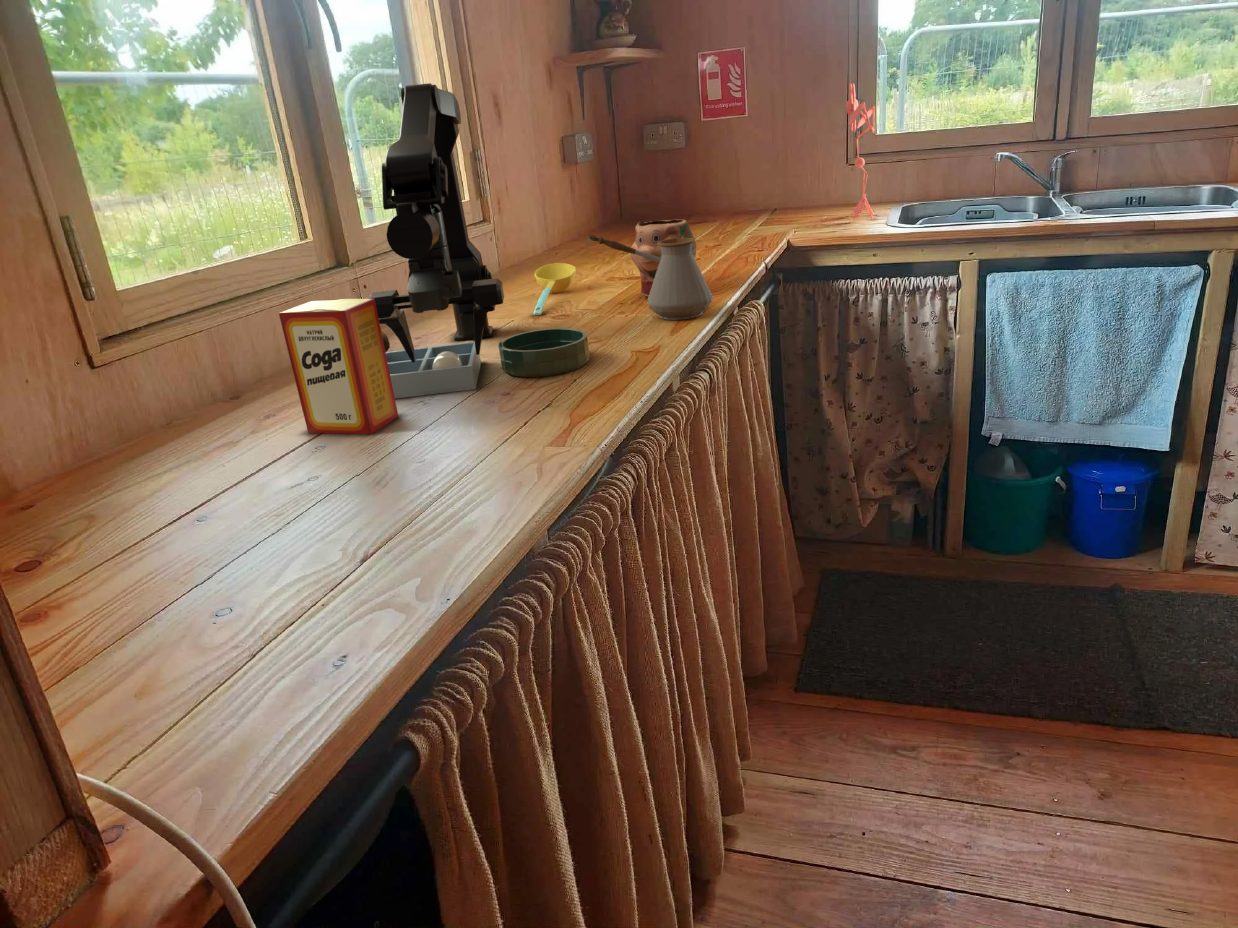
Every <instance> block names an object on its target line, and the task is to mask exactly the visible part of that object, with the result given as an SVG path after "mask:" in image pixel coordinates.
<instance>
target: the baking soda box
mask: <svg viewBox="0 0 1238 928" xmlns="http://www.w3.org/2000/svg"><path fill="white" fill-rule="evenodd" d="M278 317H279V320H280V324H281V328H282V333H283V338H284V341H285V345H286V348H287V353H288V356H289V360H290V365H291V369H292V373H293V377H294V381H295V385H296V390H297V393H298V398H299V401H300V406H301V410H302V414H303V418H304V422H305V426H306V430H307V433H308V434H345V435H347V434H349V435H351V434H352V435H355V434H356V435H372V434H374V433H376V432H377V431H378V430H380V429H381V428H383V427H385V426H386V425H388V424H389V423H391V422H392V421H394V420H395V419H397V418H398V417H399V412H398V407H397V402H396V399H395V397H394V392H393V387H392V382H391V377H390V372H389V367H388V362H387V357H386V352H385V347H384V342H383V338H382V333H381V331H382V328H381V324H380V323H379V318H378V313H377V308H376V303H375V299H368V298H339V299H335V300H334V299H333V300H332V299H331V300H329V299H328V300H310V301H308V302H305V303H302V304H299V305H296V306H294V307H291V308H289V309H286V310H283V311H279V312H278Z"/></svg>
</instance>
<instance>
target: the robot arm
mask: <svg viewBox="0 0 1238 928" xmlns="http://www.w3.org/2000/svg"><path fill="white" fill-rule="evenodd" d="M398 104H399V105H398V106H399V111H400V112H399V113H400V120H401V121H400V130H399V137H398V140H397V141H395V142H394V143H393V144H391V145H390V146H389V147H388V148H387V151H386V154H385V158H384V162H383V163H382V164H381V183H382V184H381V187H382V208H383V210H394V209H395V213H396V215H395V216H394V217H392V219H391V220H390V221H389V223H388V225H387V229H386V240H387V243H388V246H389V247H390V249H391V250H392V251H393V252H394V253H395V254H396V255H398V256H399V257H401V258H404V259H406V260H407V265H408V277H407V294H402V295H401V294H399V292H398V289H391V290H383V291H374V292H372V293H371V294H370V295H369V296H368V297H367V299H375V303H376V308H377V313H378V318H379V323H380V325H385V326H387V327H388V328H389V329H390V330H391V331H392V332H393V333H394V335H395V336H396V337H397V339H398V340H399V342H400V344H401V346H402V347H403V350H405V351H406V352H407V354H408V356H409V358H410V359H411V361H412V363H414V362H415V361H416V358H415V351H414V349H415V347H414V343H413V340H412V339H413V338H412V335H411V332H410V328H409V324H408V320H407V316H406V313H405V309H412V312H413V313H415V314H423V313H424V312H429V311H437V312H440V311H445V310H447V309H448V308H449V305H451V306H452V311H453V315H454V322H455V327H456V330H455V334H454V336H453V338H454V340H453V341H460V340H461V341H462V340H471V339H474V342H475V349H476V354H477V355H479V354H480V353H481V347H482V339H483V338H488V337H492V335H493V329H494V328H493V325H490V324H489V317H488V313H489V312H494V311H495V310H496V306H499V305H502V304H504V299H505V293H504V287H503V282H502V280H500V279H499V278H496V277H495V278H493V276H492V273H491V271H489V268H488V266H487V264H484V263H483V257H482V253H481V252H480V251H479V249H478V248H477V247H476V246H475V244H474V243H472V241H471V240H470V239H469V233H468V232H469V231H468V227H467V222H466V215H465V210H464V205H463V199H462V194H461V189H460V183H459V178H458V173H457V172H458V171H457V167H456V161H455V156H454V148H455V146H456V142H457V140H458V137H459V134H460V127H459V125H461V123H462V118H461V117H462V116H461V110H460V104H459V101H458V99H457V97H456V96H455V94H454V93H453V92H451V91H448V90H444V89H441V88H438V86H437V84H433V83H431V82H430V83H429V82H428V83H420V84H410V85H405V86H404V87H401V89H400V97H398ZM480 355H481V354H480Z"/></svg>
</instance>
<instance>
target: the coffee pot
mask: <svg viewBox="0 0 1238 928" xmlns="http://www.w3.org/2000/svg"><path fill="white" fill-rule="evenodd" d="M591 241H593V242H597V243H598V244H599V245H605V246H608V247H609V248H611V249H613V250H617V251H620V252H624V253H628V254H630V255H631V254H636V255H639V256H641V257H644V258H647V259H650V260H652V261H655V262H658V263H659V266H658V269H657V272H656V275H655V278H654V281H653V284H652V288H651V291H650V294H649V296H647V297H648V298H647V306H648V308H649V309H650V310H651V311H652V312H653V313H655V314H656V315H658V316H659V318H660V319H662V320H666V321H667V320H668V321H676V320H677V321H678V320H679V321H680V320H687V319H688V320H689V319H694V318H697V317H700V316H702V315H703V314H704V311H706V310H707V309H708V308H709V307H710V305H711V304H712V301H713V299H714V295H713V293H712V291H711V289H710V287H709V284H708V282H707V281H706V279H705V276H704V274H703V273H702V270H701V268H700V267H699V265H698V264H699V263H698V262H697V261H696V257H695V258H694V256H693V254H692V252H691V250H692V243H693V242H694V241H695V242H696V239H695V240H694V239H693V238H674V239H667V240H662V241H659V242H657V245H658V246H660V249H661V252H662V256H661V257H657V256H654V255H651V254H647V253H644V252H641V251H638V250H636V249H633V248H631V247H632V246H628V245H625V244H623V243H620V242H618V241H616V240H609V239H604V237H602V236H601V237H598V236H596V235H591V234H589V235H588V237H587V240H586V244H585V247H587V248H588V247H589V245H590V242H591Z"/></svg>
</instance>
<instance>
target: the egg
mask: <svg viewBox="0 0 1238 928" xmlns="http://www.w3.org/2000/svg"><path fill="white" fill-rule="evenodd" d="M458 366H462V361H461V359H460V357H459V356H458V355H457V354H455V353H453V352H450V351H445V352H442V353H440V354H438V355H437V356H436V358H435V359H434V362H433V365H432V370H433V369H441V368H450V367H458Z"/></svg>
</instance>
